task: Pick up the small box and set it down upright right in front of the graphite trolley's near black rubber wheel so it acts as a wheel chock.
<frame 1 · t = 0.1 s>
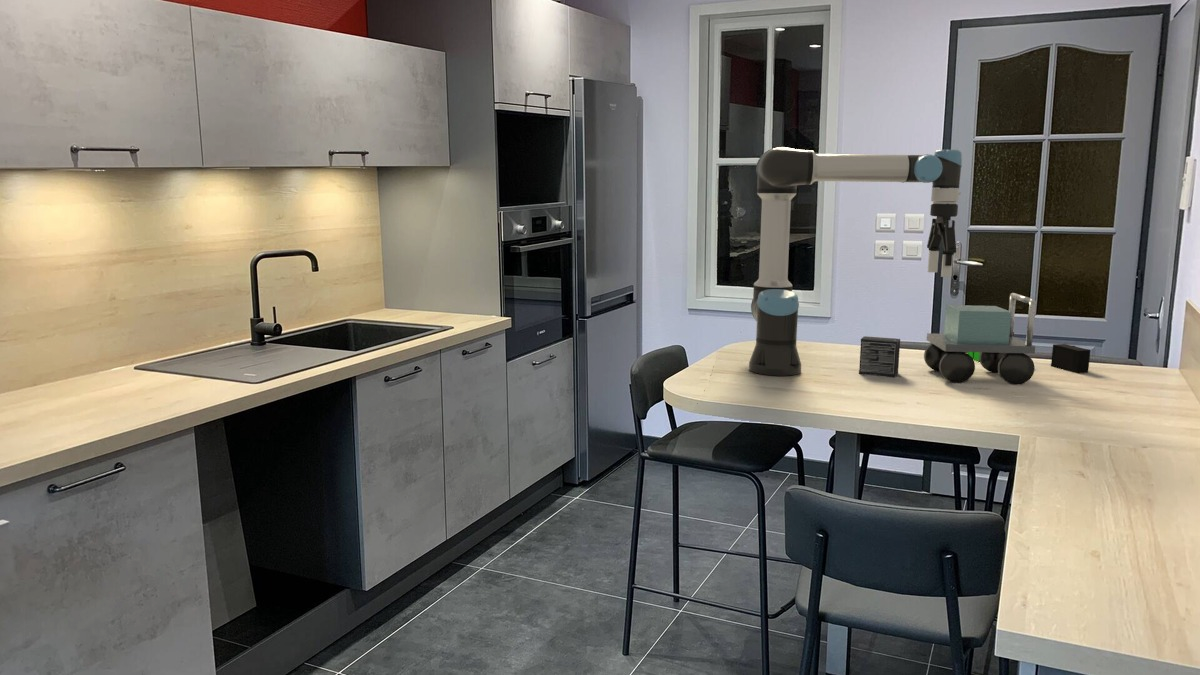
hand: (939, 274, 264), 28 cm above the breakfast bar, fingers open, 13 cm apart
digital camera: (1071, 370, 266), on the breakfast bar
trolley: (975, 377, 254), on the breakfast bar
puzzle cube: (988, 360, 279), on the breakfast bar
small box: (878, 374, 258), on the breakfast bar
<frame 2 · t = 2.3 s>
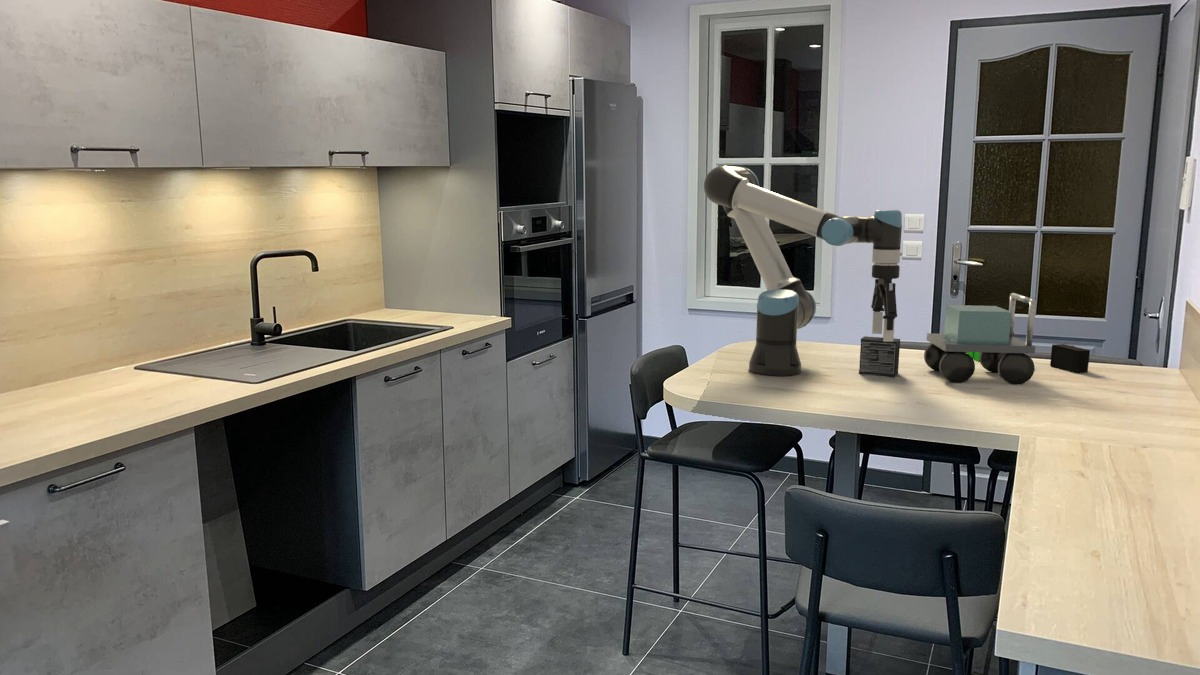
hand: (882, 337, 256), 11 cm above the breakfast bar, fingers open, 13 cm apart
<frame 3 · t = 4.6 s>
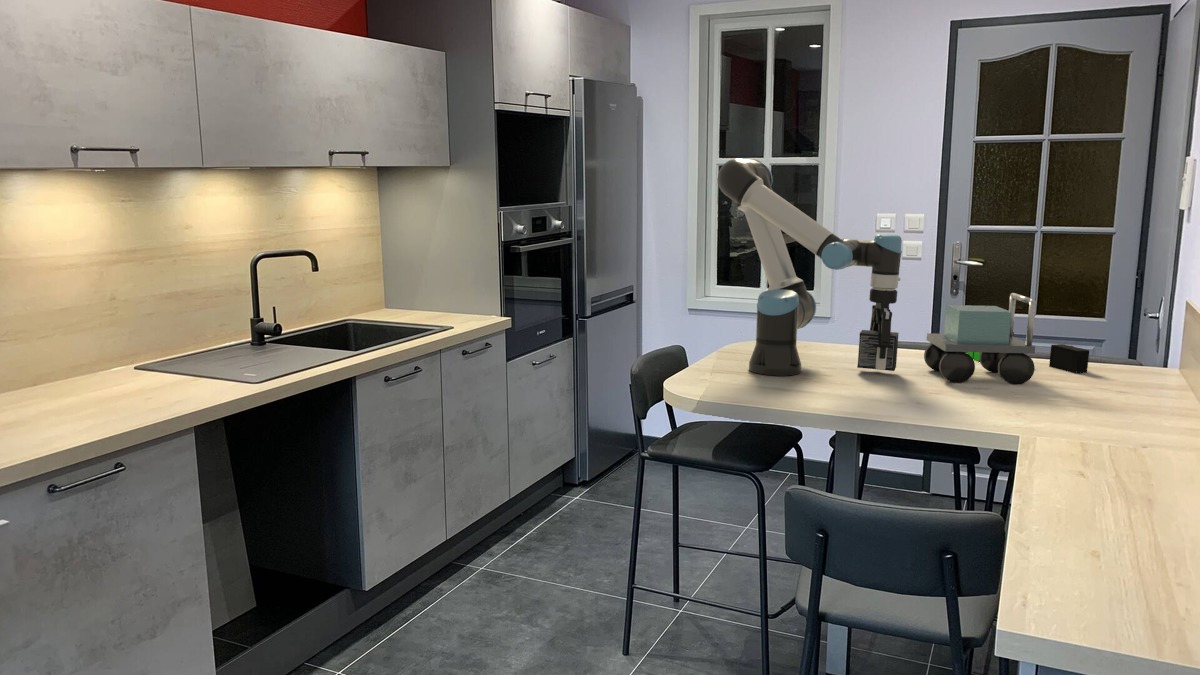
hand: (876, 365, 258), 2 cm above the breakfast bar, fingers closed on small box, 8 cm apart
small box: (876, 368, 258), point 1 cm above the breakfast bar, touching gripper
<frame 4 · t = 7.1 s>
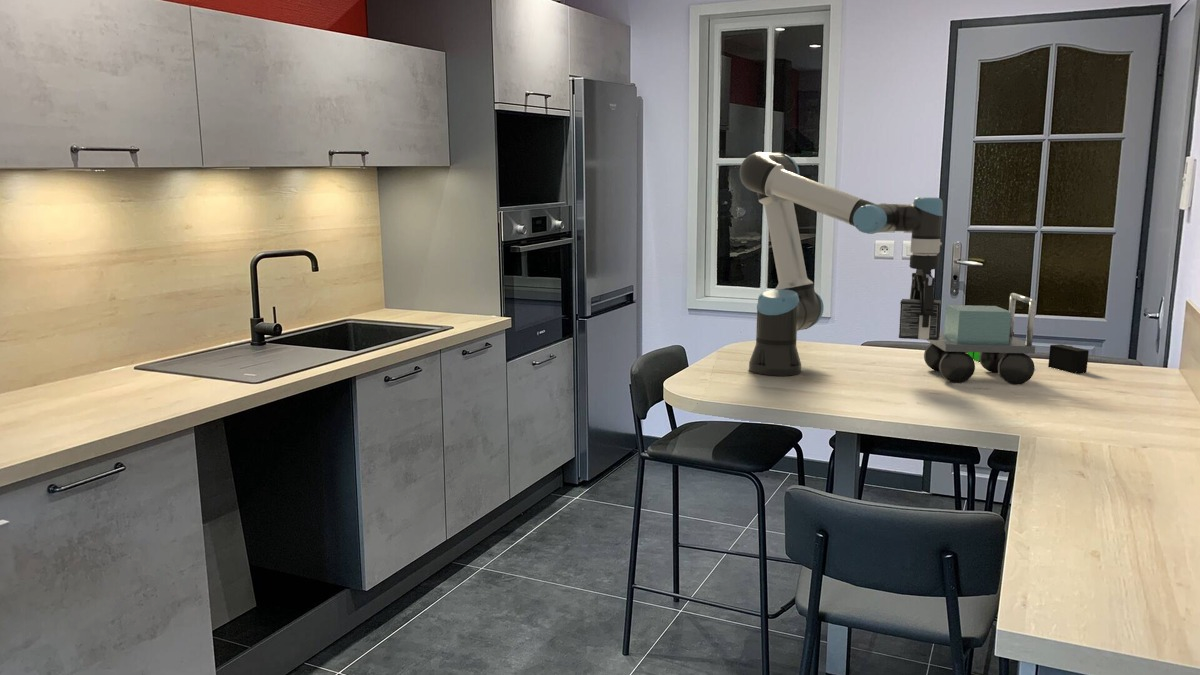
hand: (919, 336, 245), 13 cm above the breakfast bar, fingers closed on small box, 8 cm apart
small box: (919, 338, 246), point 12 cm above the breakfast bar, touching gripper
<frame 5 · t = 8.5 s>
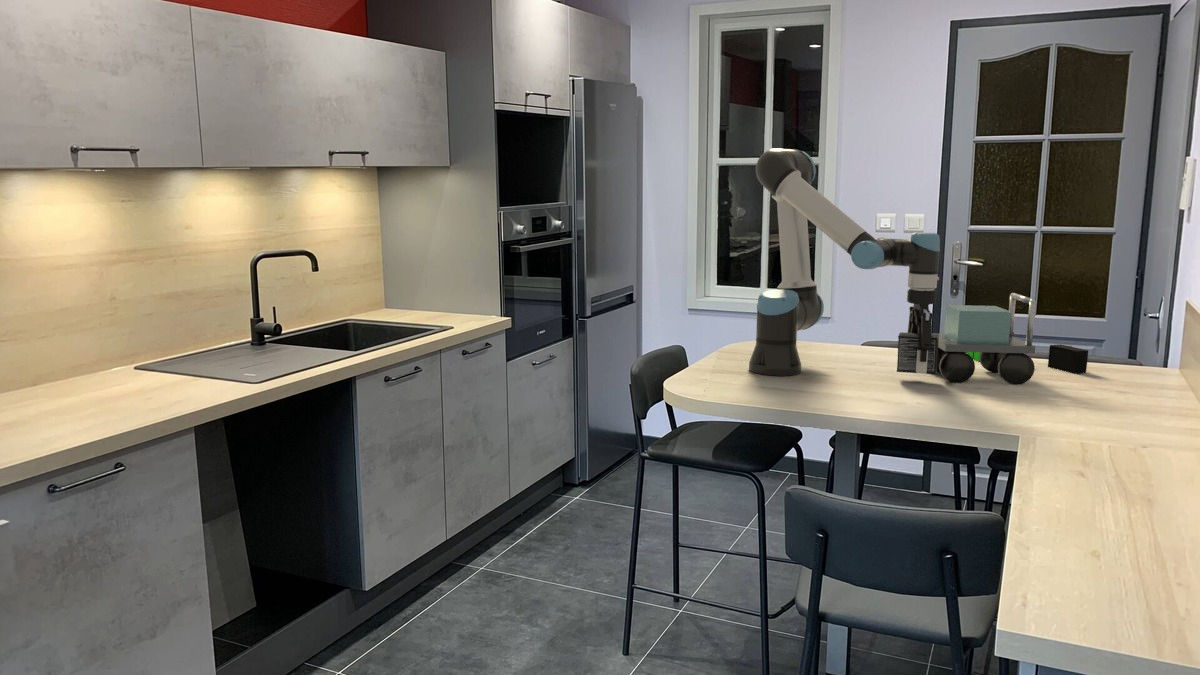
hand: (916, 369, 247), 3 cm above the breakfast bar, fingers closed on small box, 8 cm apart
small box: (916, 371, 247), point 3 cm above the breakfast bar, touching gripper
when the fingers open (1 cm above the breakfast bar, at t = 9.5 s): small box stays where it is, on the breakfast bar.
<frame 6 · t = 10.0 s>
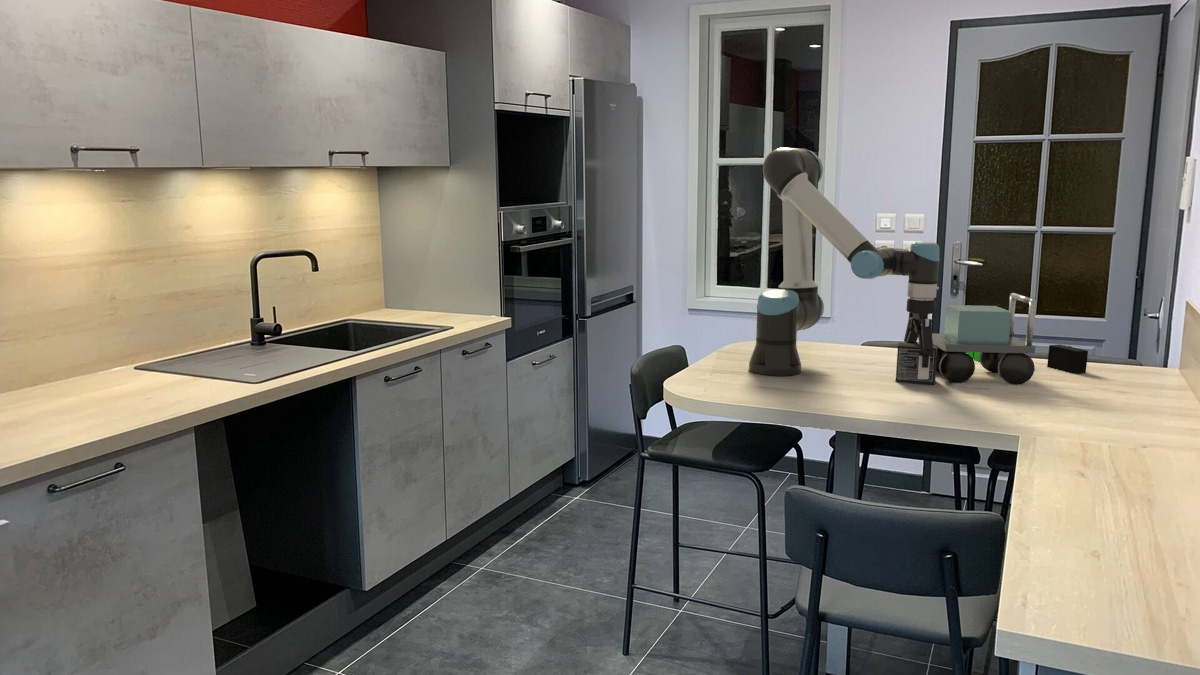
hand: (916, 373, 247), 2 cm above the breakfast bar, fingers open, 13 cm apart
small box: (915, 382, 248), on the breakfast bar
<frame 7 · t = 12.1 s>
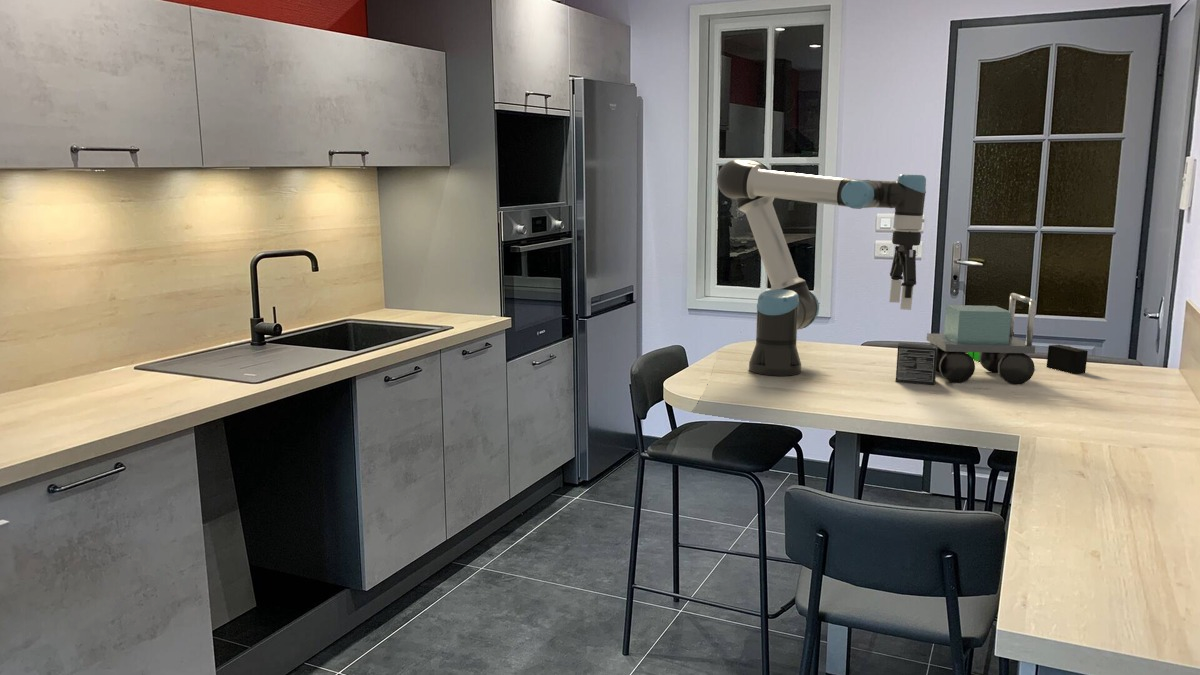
hand: (899, 305, 250), 21 cm above the breakfast bar, fingers open, 13 cm apart
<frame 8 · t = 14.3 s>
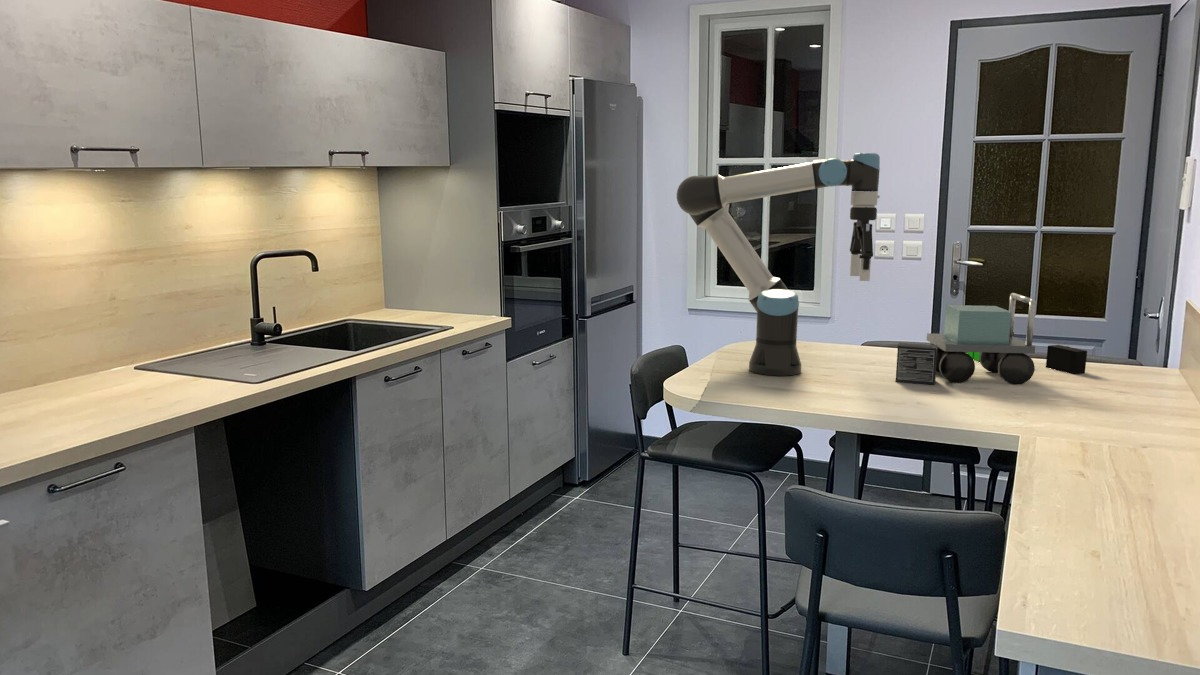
hand: (859, 278, 263), 27 cm above the breakfast bar, fingers open, 13 cm apart
at the end: small box 2.2 cm from the target spot on the breakfast bar beside the trolley, on the breakfast bar; small box tilted 0°; the gripper is holding nothing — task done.
